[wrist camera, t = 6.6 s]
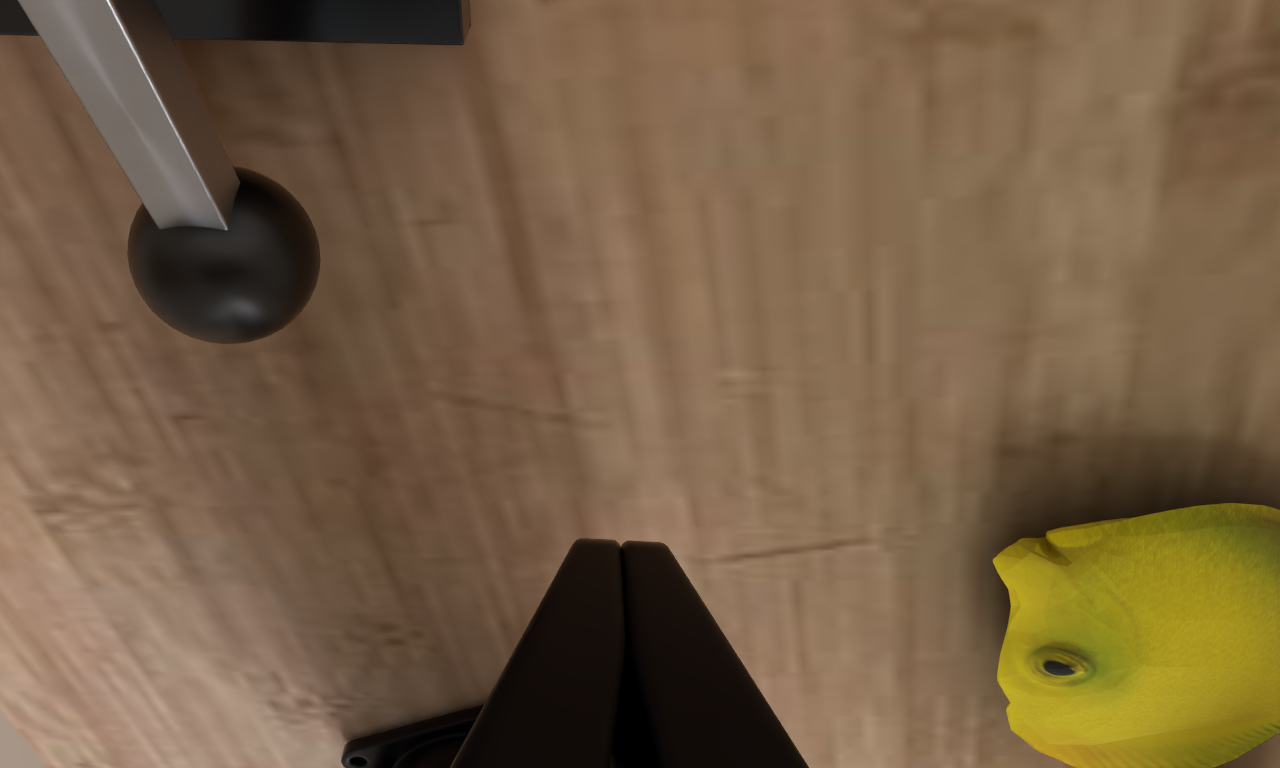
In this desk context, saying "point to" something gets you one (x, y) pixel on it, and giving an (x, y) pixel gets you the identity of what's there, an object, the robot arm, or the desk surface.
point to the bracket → (298, 20)
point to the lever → (182, 178)
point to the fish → (1146, 638)
